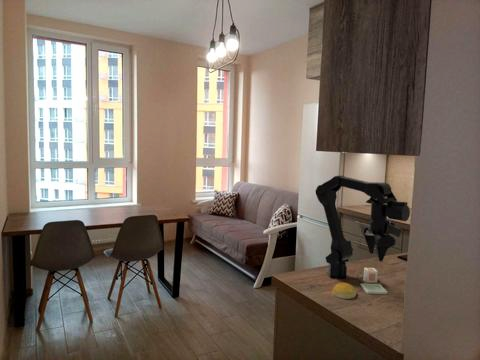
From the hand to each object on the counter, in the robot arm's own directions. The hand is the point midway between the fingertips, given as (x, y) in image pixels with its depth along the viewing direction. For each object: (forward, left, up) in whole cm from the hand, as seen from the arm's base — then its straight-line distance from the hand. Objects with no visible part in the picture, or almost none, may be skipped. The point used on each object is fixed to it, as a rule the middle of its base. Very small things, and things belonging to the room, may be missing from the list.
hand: (375, 257), depth 134 cm
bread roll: (-13, -4, -14) cm, 19 cm away
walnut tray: (+1, +8, -13) cm, 15 cm away
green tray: (0, 0, -13) cm, 13 cm away
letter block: (+1, +8, -13) cm, 15 cm away
